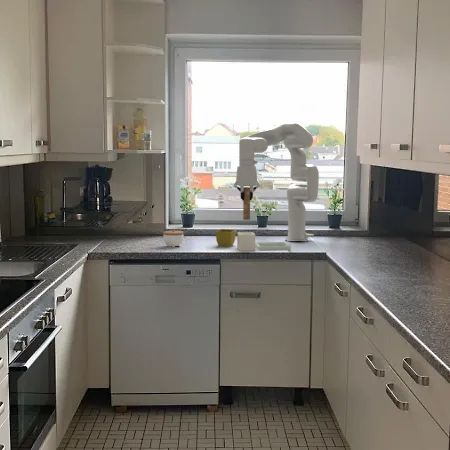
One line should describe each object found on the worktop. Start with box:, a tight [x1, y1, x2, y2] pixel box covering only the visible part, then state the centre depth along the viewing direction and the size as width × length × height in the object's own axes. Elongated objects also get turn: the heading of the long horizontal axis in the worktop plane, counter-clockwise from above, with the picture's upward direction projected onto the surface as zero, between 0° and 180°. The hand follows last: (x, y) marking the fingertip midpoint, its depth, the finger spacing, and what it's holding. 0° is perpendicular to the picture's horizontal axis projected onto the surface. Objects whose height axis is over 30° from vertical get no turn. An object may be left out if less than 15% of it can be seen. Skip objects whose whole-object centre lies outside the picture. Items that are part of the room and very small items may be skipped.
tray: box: [255, 241, 292, 252], centre depth 327 cm, size 16×14×3 cm
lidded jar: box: [162, 228, 185, 248], centre depth 335 cm, size 11×11×9 cm
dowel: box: [242, 186, 251, 221], centre depth 319 cm, size 3×3×16 cm
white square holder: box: [236, 231, 256, 252], centre depth 321 cm, size 8×8×9 cm
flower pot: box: [215, 228, 237, 248], centre depth 332 cm, size 9×9×9 cm
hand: (246, 199), depth 319 cm, fingers closed on dowel, 3 cm apart
